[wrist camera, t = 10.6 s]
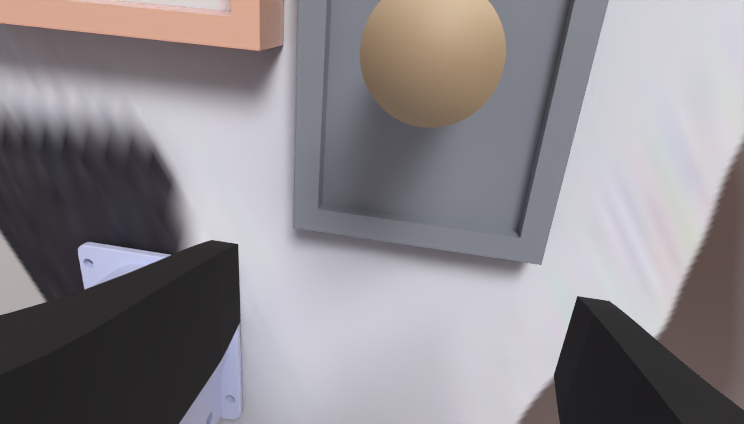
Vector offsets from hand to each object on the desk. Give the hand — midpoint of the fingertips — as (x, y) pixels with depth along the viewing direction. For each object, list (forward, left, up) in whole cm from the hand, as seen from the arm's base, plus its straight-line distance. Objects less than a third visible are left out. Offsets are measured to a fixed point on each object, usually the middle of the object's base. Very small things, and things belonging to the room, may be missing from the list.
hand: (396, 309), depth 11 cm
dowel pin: (+5, 0, -10) cm, 11 cm away
